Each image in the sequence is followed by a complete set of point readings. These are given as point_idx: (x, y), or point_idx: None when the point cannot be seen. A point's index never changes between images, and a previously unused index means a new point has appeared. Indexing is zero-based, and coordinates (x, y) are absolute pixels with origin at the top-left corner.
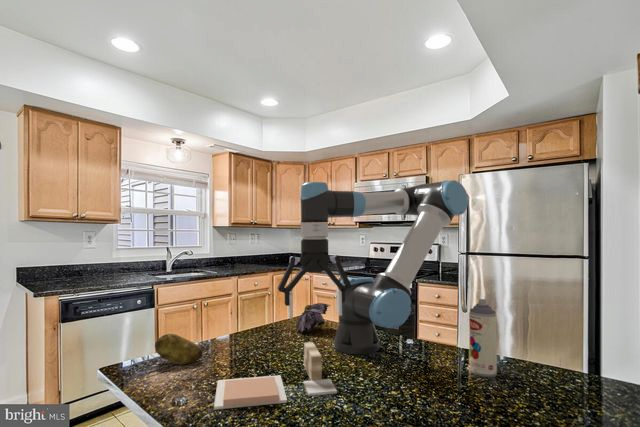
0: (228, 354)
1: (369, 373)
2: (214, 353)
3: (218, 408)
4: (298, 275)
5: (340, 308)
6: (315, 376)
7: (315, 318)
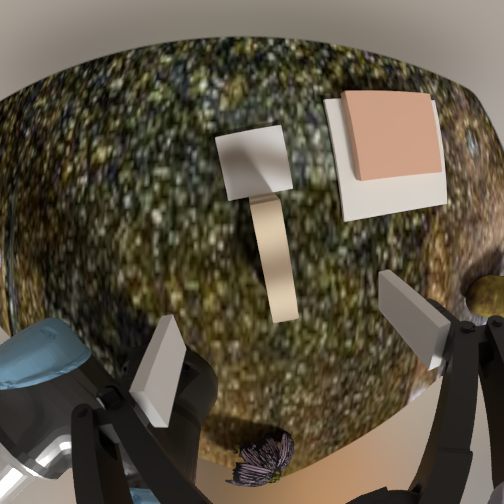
0: None
1: (138, 244)
2: None
3: None
4: (469, 424)
5: (159, 332)
6: (264, 194)
7: (258, 455)
